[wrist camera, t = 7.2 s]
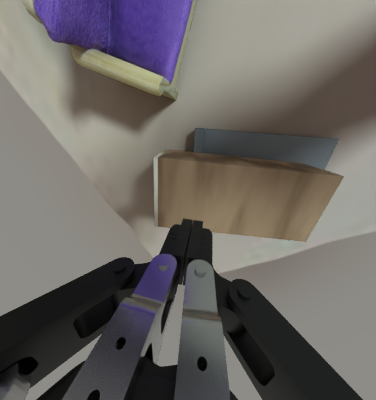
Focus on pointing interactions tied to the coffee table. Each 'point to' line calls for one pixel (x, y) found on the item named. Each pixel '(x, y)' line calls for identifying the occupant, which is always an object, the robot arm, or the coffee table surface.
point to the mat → (265, 146)
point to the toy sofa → (122, 37)
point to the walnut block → (241, 194)
